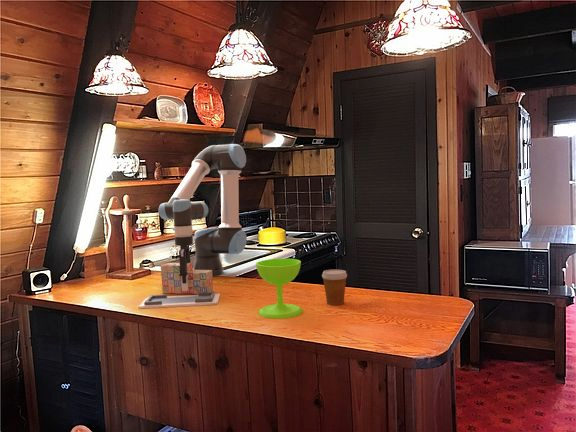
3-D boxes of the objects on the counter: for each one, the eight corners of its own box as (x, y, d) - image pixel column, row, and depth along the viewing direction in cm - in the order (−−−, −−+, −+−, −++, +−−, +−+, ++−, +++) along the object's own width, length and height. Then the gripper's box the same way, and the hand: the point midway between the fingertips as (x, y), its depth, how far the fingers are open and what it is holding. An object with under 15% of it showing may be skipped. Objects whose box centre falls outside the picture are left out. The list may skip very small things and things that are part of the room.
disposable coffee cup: (330, 308, 181) (329, 275, 180) (318, 302, 190) (317, 271, 189) (353, 304, 185) (352, 272, 184) (339, 298, 194) (338, 268, 193)
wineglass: (286, 303, 189) (284, 256, 188) (311, 312, 176) (309, 262, 175) (250, 311, 181) (247, 262, 179) (273, 321, 167) (271, 268, 166)
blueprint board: (146, 299, 205) (146, 294, 205) (220, 295, 206) (219, 290, 206) (138, 308, 191) (138, 303, 191) (217, 304, 192) (216, 299, 192)
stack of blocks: (213, 291, 214) (212, 263, 213) (207, 294, 208) (205, 265, 207) (169, 289, 220) (167, 262, 219) (162, 293, 214) (160, 265, 213)
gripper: (178, 233, 222) (181, 283, 224) (170, 239, 202) (173, 294, 204) (195, 232, 223) (198, 282, 225) (188, 238, 202) (192, 293, 204)
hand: (186, 288), depth 214 cm, fingers closed on stack of blocks, 8 cm apart
